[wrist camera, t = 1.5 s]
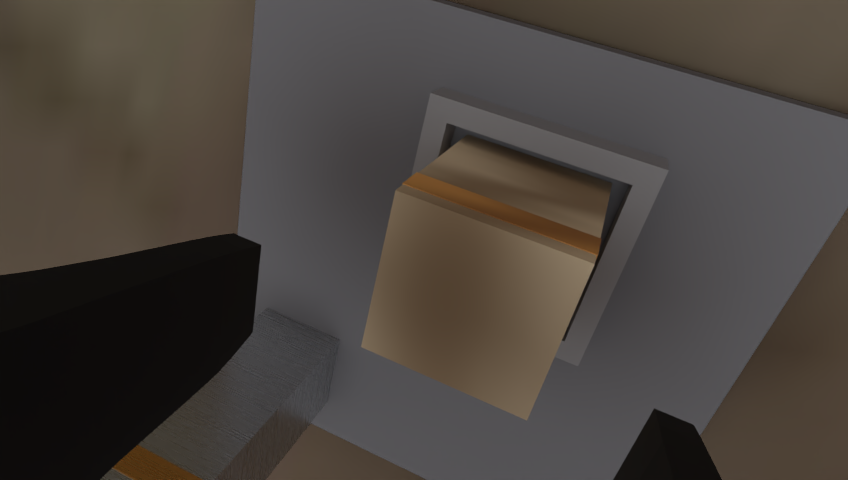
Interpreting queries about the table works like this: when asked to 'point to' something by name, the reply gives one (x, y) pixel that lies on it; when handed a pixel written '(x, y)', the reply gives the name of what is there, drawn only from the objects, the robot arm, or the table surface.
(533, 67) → the base board
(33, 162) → the table surface
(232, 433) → the post
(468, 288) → the taped cardboard box
